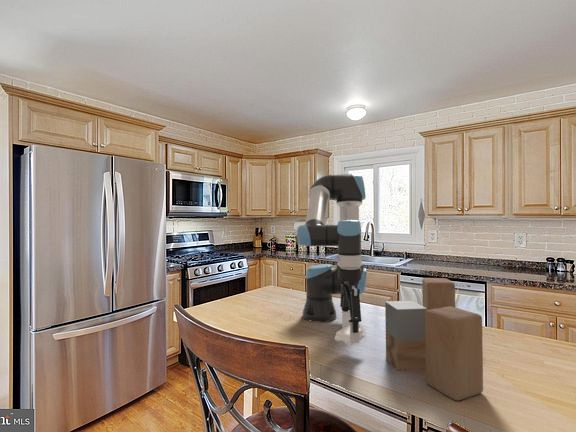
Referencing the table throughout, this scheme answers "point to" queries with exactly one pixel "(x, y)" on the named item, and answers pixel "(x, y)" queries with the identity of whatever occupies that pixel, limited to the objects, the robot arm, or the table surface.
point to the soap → (347, 335)
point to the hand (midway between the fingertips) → (350, 335)
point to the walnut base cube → (405, 354)
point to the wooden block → (438, 293)
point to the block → (454, 352)
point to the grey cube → (405, 320)
